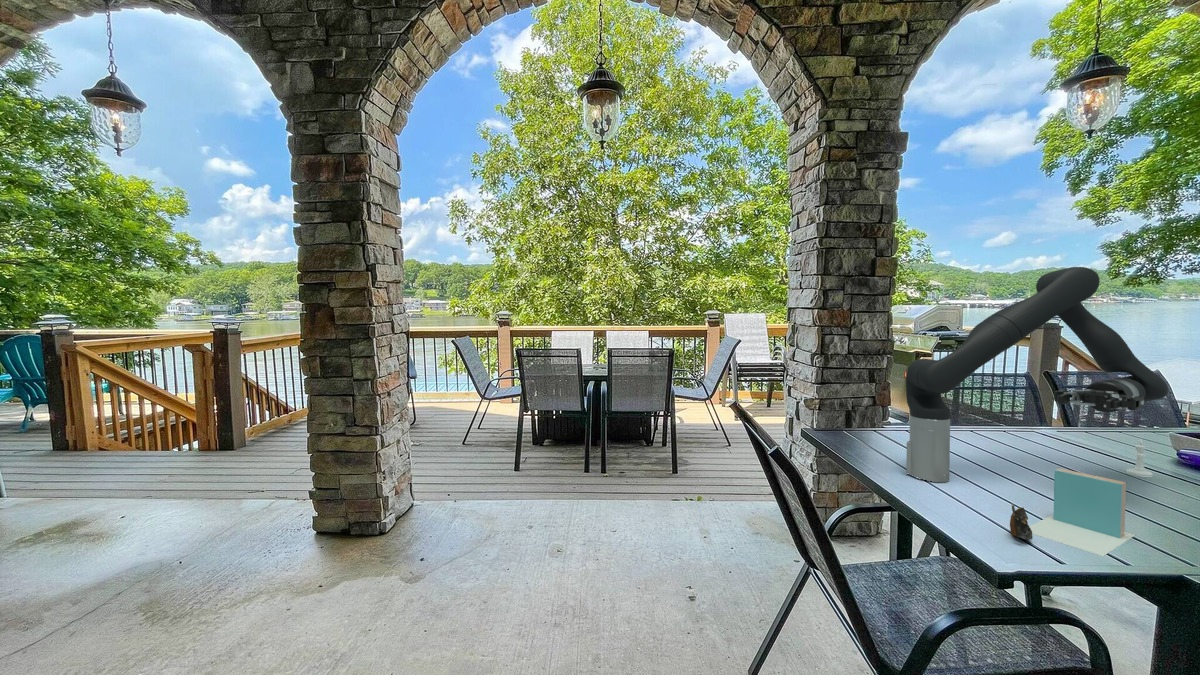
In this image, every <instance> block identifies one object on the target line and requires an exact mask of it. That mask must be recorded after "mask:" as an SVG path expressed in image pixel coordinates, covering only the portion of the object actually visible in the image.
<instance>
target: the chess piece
mask: <svg viewBox="0 0 1200 675" xmlns="http://www.w3.org/2000/svg"><path fill="white" fill-rule="evenodd" d="M1137 443H1138V444H1135V445H1134V448H1135V450H1136V452H1134V455H1135V456H1136V460H1135V466H1133V468H1126V472H1125V473H1126V474H1127V475H1132V476H1135V477H1141V478H1153V477H1154V475H1153V474H1154V473H1152V472H1151V471H1148V470H1147V469H1146V468H1145V466H1144V465H1145V464H1144V458H1143V457H1146V456H1147V455H1146V454H1145V453H1144V452H1145V450H1146V448H1147V446H1145V445H1143V444H1144V441H1143V439H1142V438H1139V439H1138V440H1137Z"/></svg>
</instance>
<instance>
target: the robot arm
mask: <svg viewBox="0 0 1200 675" xmlns="http://www.w3.org/2000/svg"><path fill="white" fill-rule="evenodd" d="M1100 282H1101V281H1100V277H1099V274H1098V273H1097V272H1096V271H1095V270H1093V269H1092V268H1088V267H1085V266H1072V267H1066V268H1062V269H1057V270H1054V271H1050V272H1047V273H1044V274H1043V275H1041V276H1040V277H1039V279H1037V281H1036V283H1035V287H1036V288H1035V289H1036V293H1034V294H1033V295H1031V296H1029V297H1027V298H1025V299H1022V300H1020V301H1017V302H1015V303H1012V304H1011V305H1008V306H1006V307H1004V308H1001V309H1000V310H998V311H996V312H994V313H993V314H991V315H989V316H987V318H985V319H984V320H981V322H979V323H978V324H976V325H975V326H974V327H973V328H972V329H971V331H970V332H969V333H968V335H967V337H966V339H965V340H964V342H963V344H961V345H960V346H959V347H958V348H957V349H955V350H954V351H952V352H950V353H949V354H947V355H946V356H943V357H942V358H940V359H936V360H935V359H930V358H918V359H916V360H914V361H912V362H911V363H910V364H909V366H908V367H907V370H906V375H905V391H906V393H905V394H906V395H905V396H906V403H907V406H908V408H909V440H908V441H906V469H905V470H906V473H909V474H911V475H913V476H915V477H918V478H920V479H923V480H922V481H924V480H927V481H926V482H930V481H932V483H945V482H949V481H950V474H951V473H950V468H951V467H950V466H951V465H950V462H951V461H950V459H951V458H950V457H951V452H950V451H951V449H950V448H951V408H950V407H949V406H948V405H946V402H944V399H943V398H942V395H943V394H947V393H949V392H951V391H952V390H954V389H955V388H956V387H958V386H959V385H960V384H961V383H963V382H964V381H965V380H966V379H968V377H970V376H971V375H972V374H973V373H974V372H975V371H976V370H978V369H979V368H980V367H982V366H984V365H985V364H988V362H991V360H993V359H994V358H996V357H998V355H1001V353H1003V352H1005V351H1006V350H1009V349H1010V348H1011V347H1013V346H1015V345H1016V344H1018V343H1019V342H1021V341H1022V340H1023V339H1025V338H1026V337H1027V336H1029V335H1030V334H1031V333H1033V332H1035V331H1036V330H1038V329H1039V328H1041V327H1042V326H1044V325H1045V324H1046V323H1048V322H1049V321H1050V320H1052V319H1053V318H1054V317H1056V316H1057V317H1059V319H1060V320H1061V321H1063V323H1064V324H1065V325H1066V326H1067V327H1068V328H1069V329H1070V330H1071V331H1072V332H1073V334H1075V335H1076V337H1077V338H1078V339H1079V340H1080V342H1082V344H1083V346H1084V347H1085V348H1086V350H1087V351H1088V352H1089V354H1090V355H1091V357H1092V359H1093V360H1094V362H1095V363H1096V364H1097V366H1098V367H1099V369H1100V370H1101V371H1103V372H1106V373H1112V374H1113V373H1123V374H1124V373H1125V374H1126V373H1127V374H1129V375H1128V376H1122V377H1121V376H1120V377H1117V378H1116V377H1115V378H1112V379H1111V378H1110V379H1104V380H1100V381H1096V382H1093V383H1091V384H1089V385H1087V386H1086V387H1085V389H1074V390H1072V391H1070V389H1067V388H1062V389H1058V390H1054V395H1053V396H1054V400H1053V401H1054V402H1056V403H1058V404H1059V405H1066V404H1072V405H1077V406H1089V407H1090V408H1092V409H1093V410H1095V411H1098V412H1101V413H1114V412H1118V411H1122V410H1125V409H1127V410H1130V411H1137V410H1140V409H1143V408H1145V406H1144V405H1145V402H1149V401H1150V402H1151V401H1157V400H1162V399H1164V398H1166V396H1168V393H1169V387H1168V384H1167V383H1166V381H1165V380H1164V379H1163V378H1162V377H1161V376H1159V375H1158V374H1157V373H1156V372H1154V371H1153V370H1151V369H1150V368H1149V367H1148V366H1146V365H1145V364H1144V363H1143V362H1142V361H1141V360H1139V358H1138V357H1136V355H1135V354H1134V352H1133V351H1132V350H1131V348H1130V347H1129V346H1128V344H1127V342H1126V341H1125V340H1124V339H1123V337H1122V336H1121V335H1120V334H1119V333H1117V331H1115V330H1114V329H1113V328H1112V327H1110V326H1109V325H1107V324H1106V323H1104V322H1103V321H1102V320H1100V319H1099V318H1097V317H1096V316H1095V315H1093V314H1092V313H1091V312H1090V311H1088V309H1087V308H1086V307H1085V306H1084V305H1083V303H1082V302H1085V301H1086V300H1088V299H1089V298H1091V297H1093V295H1094V294H1095V293H1096V292H1097V290H1098V289H1099V287H1100V286H1099V285H1100ZM1071 398H1072V399H1071ZM906 473H905V474H906ZM920 479H919V480H920Z"/></svg>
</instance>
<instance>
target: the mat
mask: <svg viewBox="0 0 1200 675" xmlns="http://www.w3.org/2000/svg"><path fill="white" fill-rule="evenodd" d="M1053 515H1054V514H1051V515H1050V516H1047V517H1046V518H1043V519H1042V520H1039V521H1037V522H1036V523H1033V524H1032V525H1029V527H1030V529H1031V531H1032V535H1034V536H1037V537H1040V538H1044V539H1047V540H1050V541H1054V542H1057V543H1060V544H1064V545H1066V546H1069V547H1071V548H1075V549H1078V550H1082V551H1085V552H1088V553H1090V554H1091V553H1092V554H1095V555H1097V556H1100V557H1105V556H1107V554H1109V553H1111V552H1112V551H1113V550H1115V549H1117V548H1118V547H1120V546H1122V545H1123V544H1125V543H1126V542H1127V541H1129V540H1131V538H1134V537H1136V534H1133V533H1131V532H1130V533H1129V532H1126V531H1125V533H1124V536H1123V537H1121V538H1116V537H1113V536H1109V535H1106V534H1102V533H1099V532H1095V531H1092V530H1088V529H1085V528H1081V527H1078V526H1075V525H1071V524H1068V523H1064V522H1061V521H1057V520H1054V519H1053Z"/></svg>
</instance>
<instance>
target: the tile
mask: <svg viewBox="0 0 1200 675" xmlns="http://www.w3.org/2000/svg"><path fill="white" fill-rule="evenodd" d="M1053 479H1054V480H1053V481H1054V483H1053V485H1054V487H1053V514H1052V515H1053V519H1054V520H1057V521H1061V522H1064V523H1068V524H1071V525H1075V526H1078V527H1081V528H1085V529H1088V530H1092V531H1095V532H1099V533H1102V534H1106V535H1109V536H1113V537H1116V538H1121V537H1123V536H1124V533H1125V532H1126V530H1125V529H1126V526H1125V525H1126V524H1125V523H1126V500H1127V499H1126V497H1127V482H1126V481H1121V480H1117V479H1112V478H1106V477H1101V476H1098V475H1097V476H1096V475H1093V474H1088V473H1083V472H1079V471H1073V470H1069V469H1064V468H1060V467H1059V468H1056V469H1054V478H1053Z"/></svg>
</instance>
